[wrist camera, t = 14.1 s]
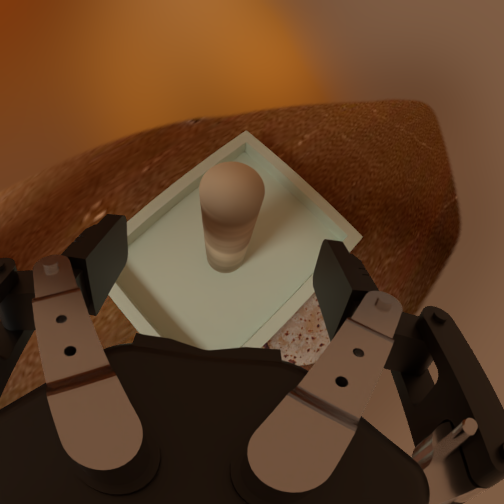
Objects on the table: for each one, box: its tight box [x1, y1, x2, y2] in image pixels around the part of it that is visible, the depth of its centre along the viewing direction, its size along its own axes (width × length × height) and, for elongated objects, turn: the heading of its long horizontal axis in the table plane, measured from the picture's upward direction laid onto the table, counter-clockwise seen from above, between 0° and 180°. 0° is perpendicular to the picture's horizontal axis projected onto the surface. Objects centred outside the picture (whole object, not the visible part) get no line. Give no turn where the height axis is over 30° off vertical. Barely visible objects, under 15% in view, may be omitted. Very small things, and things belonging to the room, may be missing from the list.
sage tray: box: [109, 130, 363, 350], centre depth 24 cm, size 18×14×2 cm
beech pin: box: [199, 161, 265, 273], centre depth 19 cm, size 3×3×11 cm
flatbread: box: [261, 292, 330, 366], centre depth 24 cm, size 8×8×1 cm
